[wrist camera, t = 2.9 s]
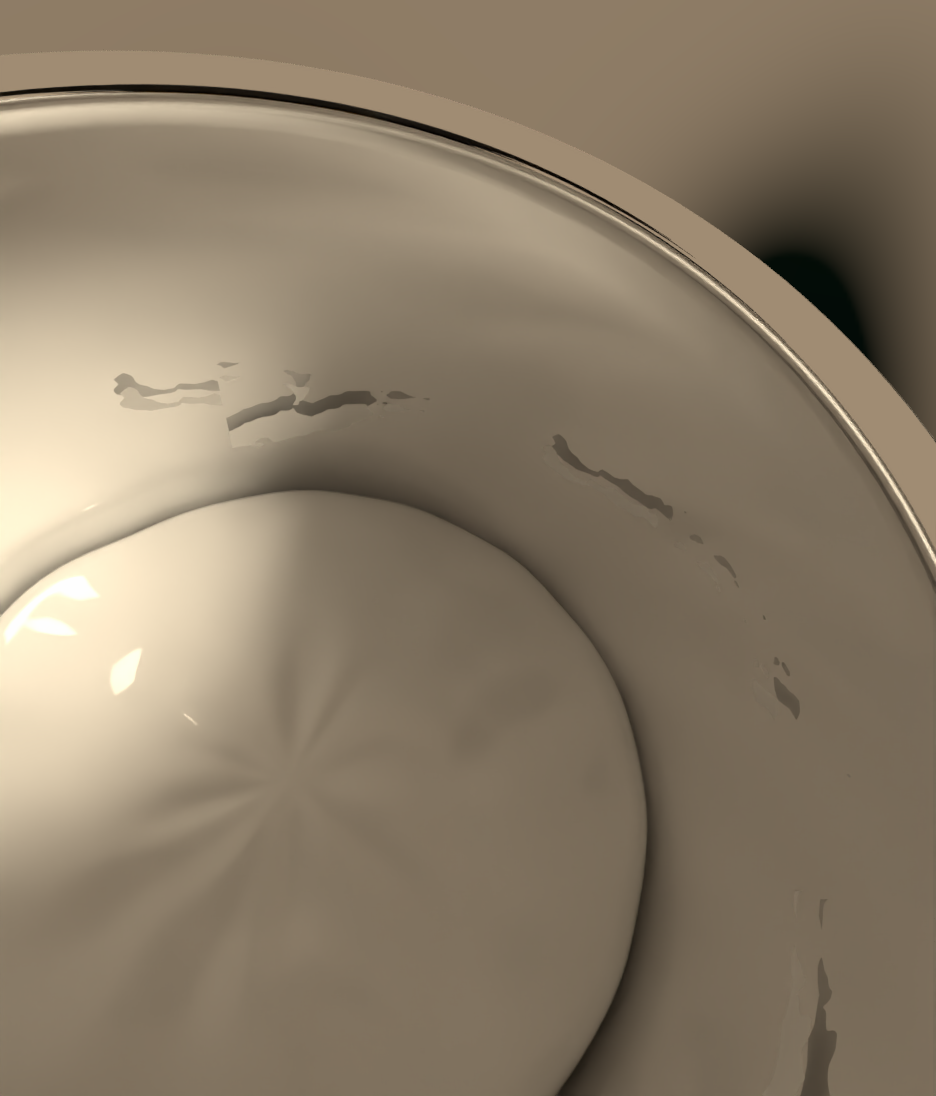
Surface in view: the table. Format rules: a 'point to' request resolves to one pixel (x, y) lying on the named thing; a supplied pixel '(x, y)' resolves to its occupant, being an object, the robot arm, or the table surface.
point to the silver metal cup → (439, 616)
